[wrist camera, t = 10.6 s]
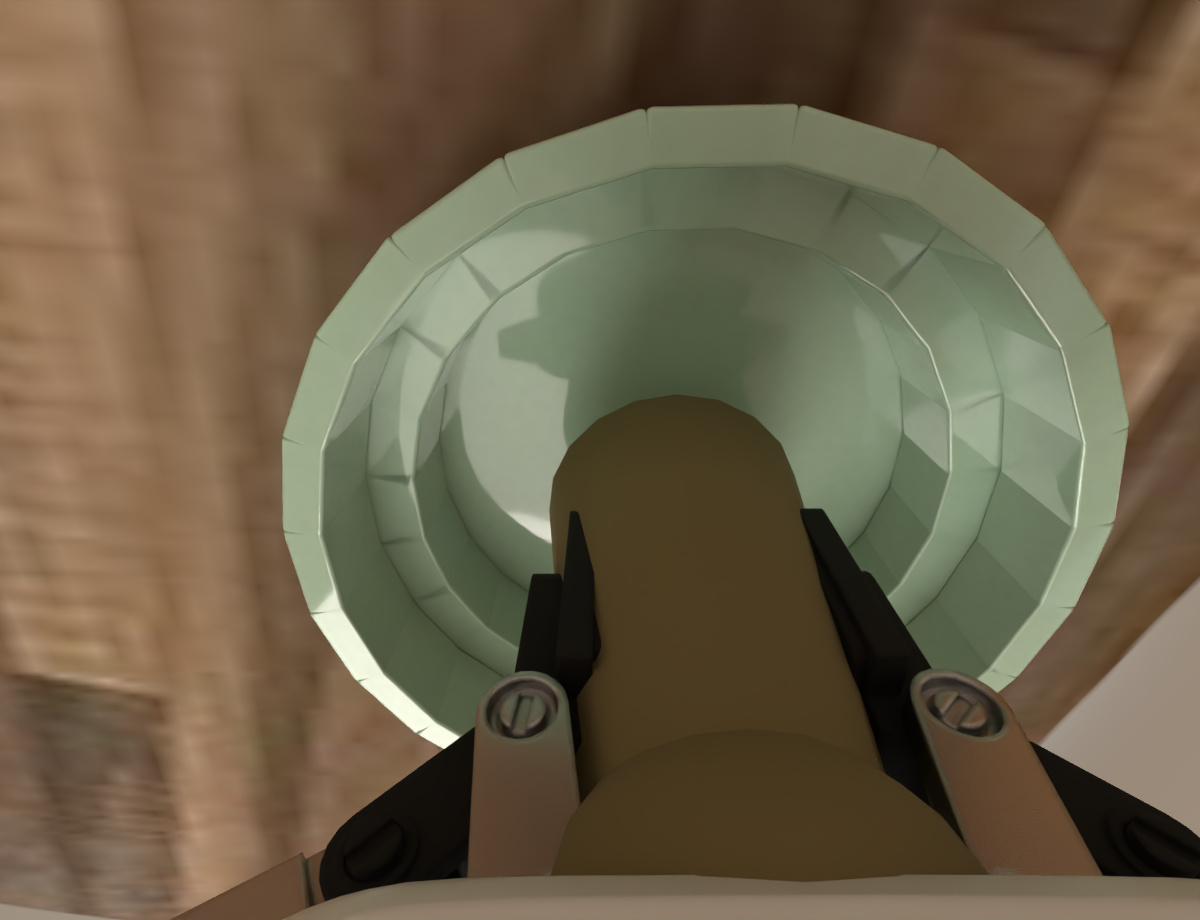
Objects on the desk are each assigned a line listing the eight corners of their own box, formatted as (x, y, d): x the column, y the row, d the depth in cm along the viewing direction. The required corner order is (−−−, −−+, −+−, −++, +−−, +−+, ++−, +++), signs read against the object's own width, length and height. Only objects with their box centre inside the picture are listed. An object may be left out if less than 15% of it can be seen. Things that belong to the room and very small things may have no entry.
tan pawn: (588, 361, 12) (526, 1086, 3) (841, 436, 13) (1491, 1209, 4) (523, 573, 15) (376, 1319, 5) (736, 625, 16) (941, 1359, 6)
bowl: (839, -56, 12) (1009, -209, 7) (1025, 533, 18) (1179, 672, 13) (251, 356, 16) (91, 447, 11) (576, 715, 22) (568, 872, 17)
